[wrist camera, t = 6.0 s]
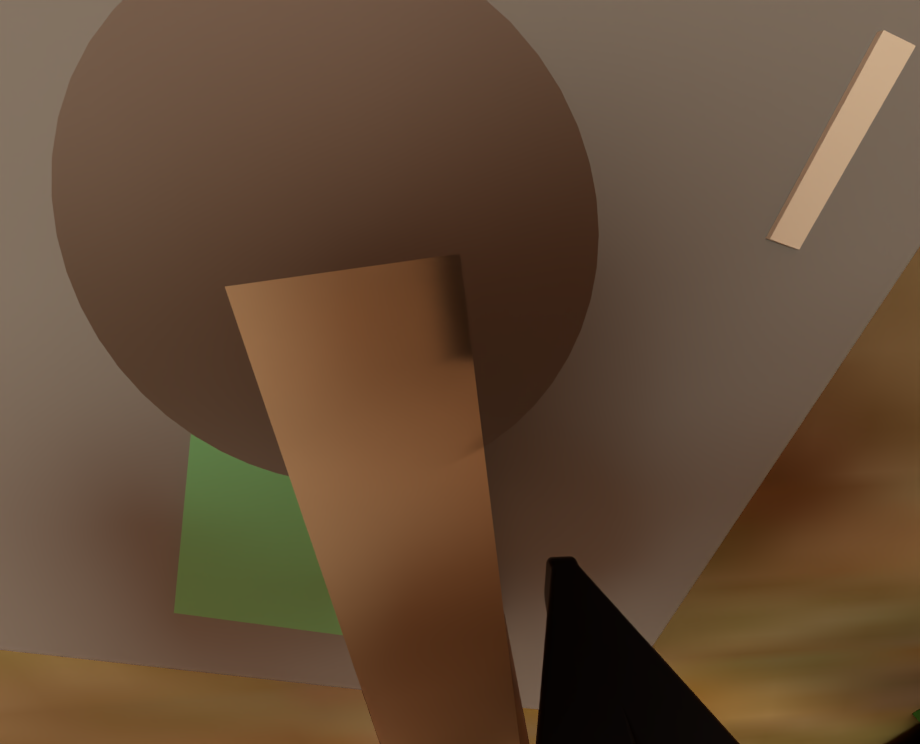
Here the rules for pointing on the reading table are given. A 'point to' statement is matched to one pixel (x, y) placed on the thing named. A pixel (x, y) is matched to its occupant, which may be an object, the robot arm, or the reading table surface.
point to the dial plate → (562, 405)
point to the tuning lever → (343, 291)
